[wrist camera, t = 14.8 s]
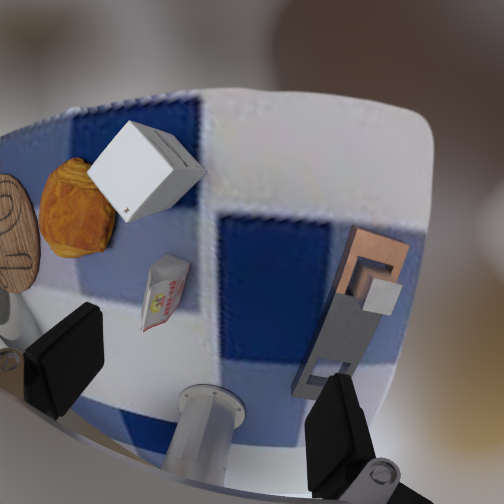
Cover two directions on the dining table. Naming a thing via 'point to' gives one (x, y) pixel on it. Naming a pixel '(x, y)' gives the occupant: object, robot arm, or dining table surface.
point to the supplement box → (144, 171)
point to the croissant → (75, 212)
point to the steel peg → (374, 287)
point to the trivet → (17, 237)
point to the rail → (347, 312)
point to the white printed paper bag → (163, 290)
